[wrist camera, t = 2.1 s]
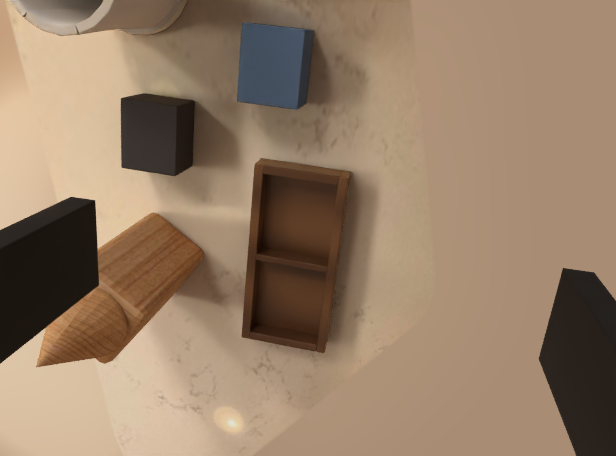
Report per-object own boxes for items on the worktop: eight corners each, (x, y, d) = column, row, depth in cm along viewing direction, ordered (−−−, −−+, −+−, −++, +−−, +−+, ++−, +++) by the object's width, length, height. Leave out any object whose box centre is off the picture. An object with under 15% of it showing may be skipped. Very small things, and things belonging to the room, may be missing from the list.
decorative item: (172, 296, 56) (52, 425, 37) (120, 254, 56) (-27, 365, 37) (208, 251, 54) (99, 366, 35) (154, 208, 53) (15, 301, 35)
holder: (261, 158, 50) (254, 163, 48) (351, 171, 49) (348, 177, 46) (247, 326, 56) (241, 337, 54) (327, 341, 55) (324, 353, 53)
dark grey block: (142, 93, 50) (120, 98, 46) (195, 100, 49) (177, 105, 45) (142, 158, 52) (121, 168, 48) (192, 166, 51) (175, 176, 47)
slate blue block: (255, 23, 46) (241, 22, 42) (314, 30, 45) (305, 29, 41) (250, 96, 48) (236, 101, 44) (306, 104, 47) (297, 109, 44)
